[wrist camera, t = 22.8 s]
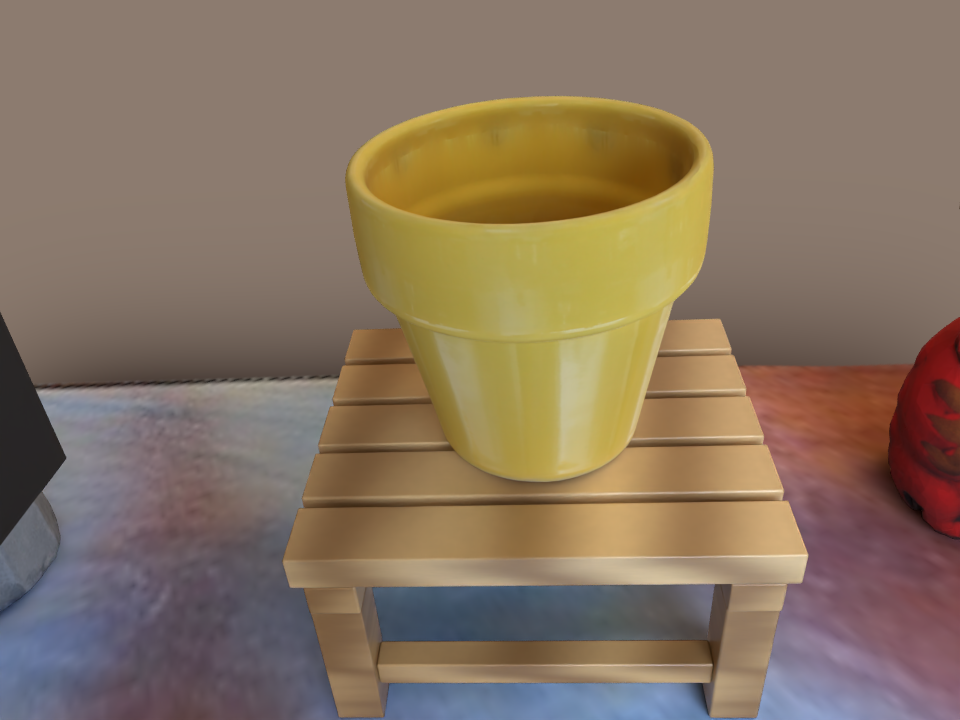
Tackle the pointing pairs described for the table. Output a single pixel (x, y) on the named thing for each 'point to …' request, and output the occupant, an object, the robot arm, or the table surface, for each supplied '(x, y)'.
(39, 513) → the moka pot
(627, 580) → the plant rack
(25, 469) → the robot arm
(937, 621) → the table surface
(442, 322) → the flower pot
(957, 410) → the red clay folk toy
